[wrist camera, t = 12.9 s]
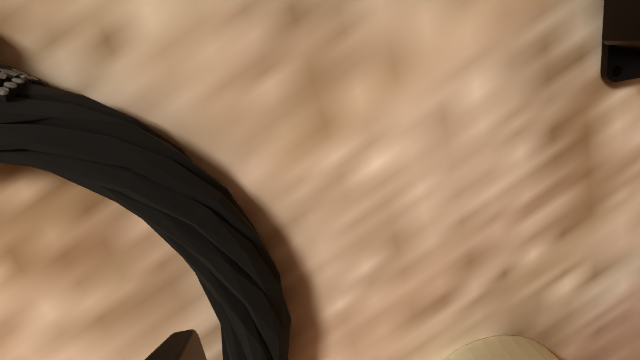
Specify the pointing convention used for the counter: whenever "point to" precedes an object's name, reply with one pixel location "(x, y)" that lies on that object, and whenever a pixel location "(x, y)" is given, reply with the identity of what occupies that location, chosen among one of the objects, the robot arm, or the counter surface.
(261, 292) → the cable lock
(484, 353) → the reusable coffee cup
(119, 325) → the counter surface
